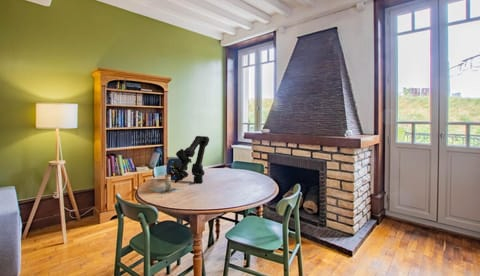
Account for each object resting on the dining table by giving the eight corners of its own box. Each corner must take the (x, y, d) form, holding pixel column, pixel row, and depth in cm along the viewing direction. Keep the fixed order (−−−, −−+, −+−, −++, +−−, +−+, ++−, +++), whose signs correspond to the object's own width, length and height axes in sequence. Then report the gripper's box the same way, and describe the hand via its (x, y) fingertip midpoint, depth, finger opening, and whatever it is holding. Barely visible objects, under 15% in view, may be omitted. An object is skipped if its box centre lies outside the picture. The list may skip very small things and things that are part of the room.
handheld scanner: (183, 180, 219) (183, 157, 218) (166, 179, 223) (165, 156, 221) (186, 179, 224) (185, 156, 222) (168, 178, 227) (168, 156, 226)
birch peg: (171, 189, 187) (171, 174, 186) (169, 191, 183) (169, 175, 182) (166, 189, 187) (166, 174, 186) (164, 191, 184) (164, 175, 183)
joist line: (173, 188, 191) (173, 188, 191) (177, 189, 189) (177, 189, 189) (158, 192, 182) (158, 192, 182) (162, 193, 179) (162, 193, 179)
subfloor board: (147, 190, 191) (147, 188, 191) (164, 186, 202) (164, 184, 202) (163, 196, 178) (163, 193, 178) (180, 191, 189) (180, 189, 189)
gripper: (169, 155, 195) (156, 173, 188) (184, 158, 183) (171, 177, 176) (178, 164, 202) (166, 181, 195) (193, 168, 189) (181, 186, 182)
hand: (170, 181), depth 187 cm, fingers open, 9 cm apart
